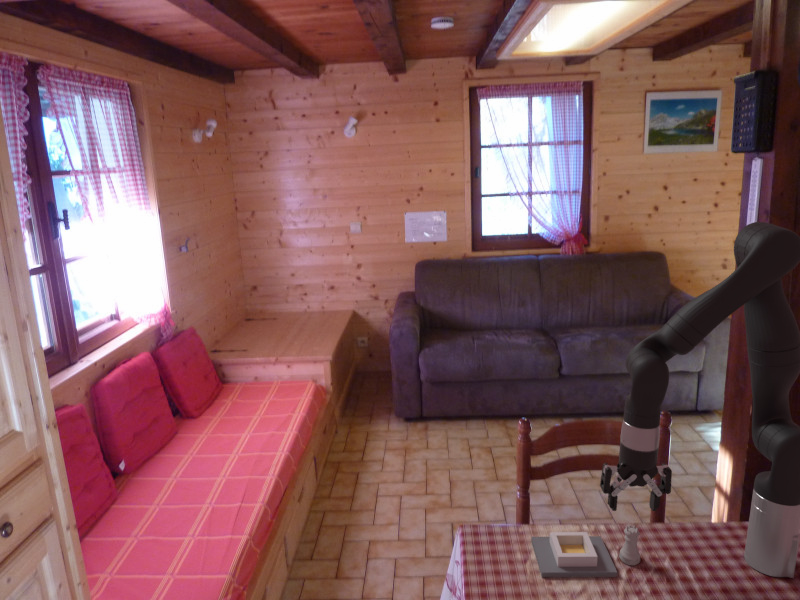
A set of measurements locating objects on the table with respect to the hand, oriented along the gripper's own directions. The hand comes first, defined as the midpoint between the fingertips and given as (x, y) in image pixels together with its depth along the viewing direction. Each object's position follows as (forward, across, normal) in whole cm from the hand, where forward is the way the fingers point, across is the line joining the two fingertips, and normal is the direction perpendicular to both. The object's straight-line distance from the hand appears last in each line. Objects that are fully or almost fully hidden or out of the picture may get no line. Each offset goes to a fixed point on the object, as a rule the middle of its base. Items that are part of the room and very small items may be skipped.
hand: (633, 508), depth 129 cm
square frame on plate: (+13, -12, +1) cm, 18 cm away
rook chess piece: (+13, 0, 0) cm, 13 cm away
